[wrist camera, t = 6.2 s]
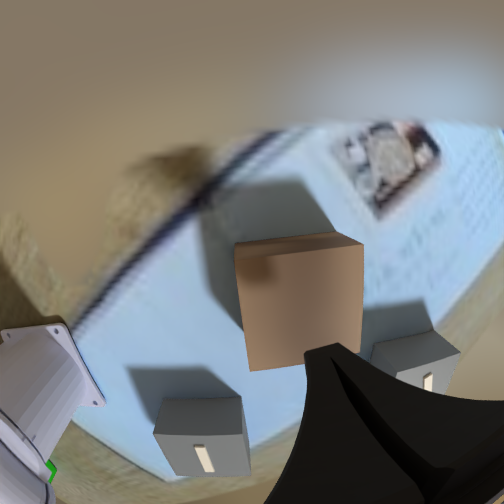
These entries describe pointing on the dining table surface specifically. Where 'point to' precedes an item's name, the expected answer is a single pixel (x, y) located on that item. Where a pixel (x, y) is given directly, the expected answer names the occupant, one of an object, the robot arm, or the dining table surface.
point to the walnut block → (299, 296)
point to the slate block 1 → (204, 437)
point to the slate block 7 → (418, 360)
